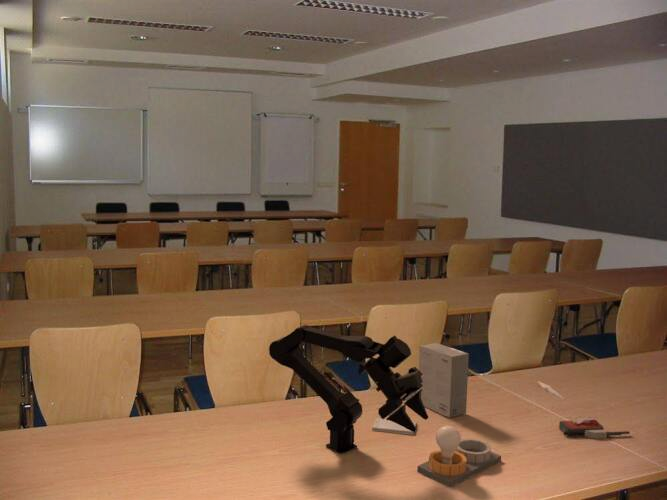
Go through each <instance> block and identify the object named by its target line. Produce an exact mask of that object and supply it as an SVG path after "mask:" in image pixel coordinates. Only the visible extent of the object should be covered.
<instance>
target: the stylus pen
mask: <svg viewBox="0 0 667 500" xmlns="http://www.w3.org/2000/svg"><path fill="white" fill-rule="evenodd" d="M537 383H538V384H539V385H538V387H540V388H541V389H542V390H543V391H545V392H548V393H549V394H551V395H553V396H555V397H557V398H559V399H561V400H565V398H564V397H563V396H562V395H561V394H559V392H557V391H556V390H555V389H553V388H552V386H551V385H549V384H546V383H544V382H541V381H539V380H538V381H537Z"/></svg>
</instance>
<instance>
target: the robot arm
mask: <svg viewBox="0 0 667 500" xmlns="http://www.w3.org/2000/svg"><path fill="white" fill-rule="evenodd" d="M303 343H306V344H310V345H314V346H318V347H322V348H325V349H329V350H333V351H336V352H338V353H340V354H341V355H343V356H344V357H345V358H347V359H349V360H352V361H354V362H356V363H359V364H358V372H357V374H358V375H362V374H363V373H365V372H366V373H367V375H368V376H369V377H370V378H371V380H372V381H373V382H374V384H375V385H376V386H377V387H376V388H375V390H376V392H377V393H378V392H381V393H382V394H383V395H384V397H385V398H386V399H387V400H385V401H384V402H385V403H384V404H382V406H380V408H378V410H377V411H378V415H379V418H382V419H384V418H385V419H386V420H390V421H392V422H394V423H397V424H399V425H401V426H403V427H405V428H407V429H408V430H410V431H412V432H414V433H415V432H416V431H417V426H416V427H415V426H414V424H413V422H412V421H413V420H411V418H410V416H409V414H408V413H407V411H406V409H407V408H406V407H408V408H409V409H411V410H412V411H413V412H414V413H416V414H417V415H418V416H419V417H421V418H422V419H423V420H427V419H429V415H428V412H427V411H426V407H425V406H424V405H423V402H422V400H421V393H422V389H421V390H420V391H419V389H420V388H421V387H422V386H423V385H422V384H421V383H423V381H422V378H421V376H422V373H421V372H420V370H419V368H417V367H416V366H412V367H410V368H409V369H408V373H405V374H403V375H401V373H400V372H397V371H396V372H394V371H393V370H392V369H395V368H397V367H399V366H400V365H401V364H402V363H403V362H405V360H406V359H408V358H409V357H410V356H412V351H411V348H410V347H409V345H408V343H406V342H405V341H403V340H402V339H400V338H397V336H396V335H393V336H391V337H390V338H389V339H388V340H387V341H386V342H385V343H384V344H383V343H380V342H377V341H374V340H373V339H372V338H371V337H370V336H367V335H366V336H365V335H344V334H343V335H342V334H338V333H335V332H331V331H327V330H325V329H324V330H323V329H319V328H316V327H312V326H310V325H307V324H302V325H301V326H299V327H296V328H295V329H294V330H293V331H292V332H290V333H289V334H287V335H286V336H283V337H281V338H278V339H276V340H274V341H272V342H271V343H270V345H269V346H268V354H269V356H270V358H272V359H273V360H274V361H276V362H277V363H278V364H279V365H281V366H283V367H286V368H288V369H291V370H292V371H293V372H294V373H295V374H296V375H297V376H298V377H299V378H300V379H301V380H302V381H303V382H304V383H305V384H306V385H307V386H308V387H309V388H310V389H311V390H312V391H314V392H315V394H316V395H318V397H319V398H321V400H322V401H324V403H325V404H326V405H327V408H328V411H329V414H330V416H331V418H330V419H329V420H327V421H326V422H325V424H326V428H327V431H329V443H326V444H325V447H326V448H328V449H330V450H333V451H335V452H336V453H338V454H344V453H347V452H349V451H352V450H354V449H357V448H358V445H357V444H355V428H354V426H355V424H356V423H357V420H359V419H360V418H361V417H362V415H363V406H362V403H360V399H359V398H357V397H355V396H354V394H353V392H351V391H350V390H348V391H346V392H342V391H340V390H338V388H336V387H335V386H334V385H333V384H332V383H331V382H330V381H329V380H328V379H327V378H326V377H325V376H324V375H323V374H322V373H321V372H320V371H319V370H318V369H317V368H316V367H315V366H314V365H313V364H312V363H311V362H310V361H309V360H308V359H307V358H305V356H304V354H303V351H302V347H301V346H300V345H302V344H303ZM377 355H378V356H377ZM375 356H377V357H375ZM366 359H368V360H366ZM364 360H366V361H365V362H364Z"/></svg>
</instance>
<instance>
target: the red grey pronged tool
mask: <svg viewBox="0 0 667 500" xmlns="http://www.w3.org/2000/svg"><path fill="white" fill-rule="evenodd" d="M558 424H559V425H558V429H559V431H560V432H562V433H563V435H565V436H567V437H571V438H572V437H585V438H589V439H594V440H595V439H596V440H597V439H607V437H610V436H622V435H630V434H631V432H630V431H628V430H625V431H623V430H622V431H606V430H604V428H605V427H604V426H603V425H602V424H601V423H600V422H598V420H597V419H595V418H594V417H591V416H590V417H580V418H578V419H577V420H576V419H574V418H571V420H560V421H559V423H558Z"/></svg>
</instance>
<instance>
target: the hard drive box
mask: <svg viewBox="0 0 667 500" xmlns="http://www.w3.org/2000/svg"><path fill="white" fill-rule="evenodd" d="M469 354H470V353H468V352H465V351H462V350H458V349H456V348H453V347H450V346H446V345H444V344H440V343H437V342H434V343H428V344H423V345H419V363H418V364H419V365H418V366H419V367H418V370H420V372H421V373H422V376H421V378H422V381H423V383H421V384H422V385H423V386H422V387H421V388H420V389H419V390H418V391H420V390H421V389H422V393H421V400H422V402H423V405H424V407H425V408H426V409H430V410H431V411H434V412H436V413H438V414H440V415H442V416H445V417H446V418H450V419H451V418H454V417H458V416H461V415H465V414H467V404H468V403H467V399H468V376H469V356H470V355H469Z"/></svg>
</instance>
